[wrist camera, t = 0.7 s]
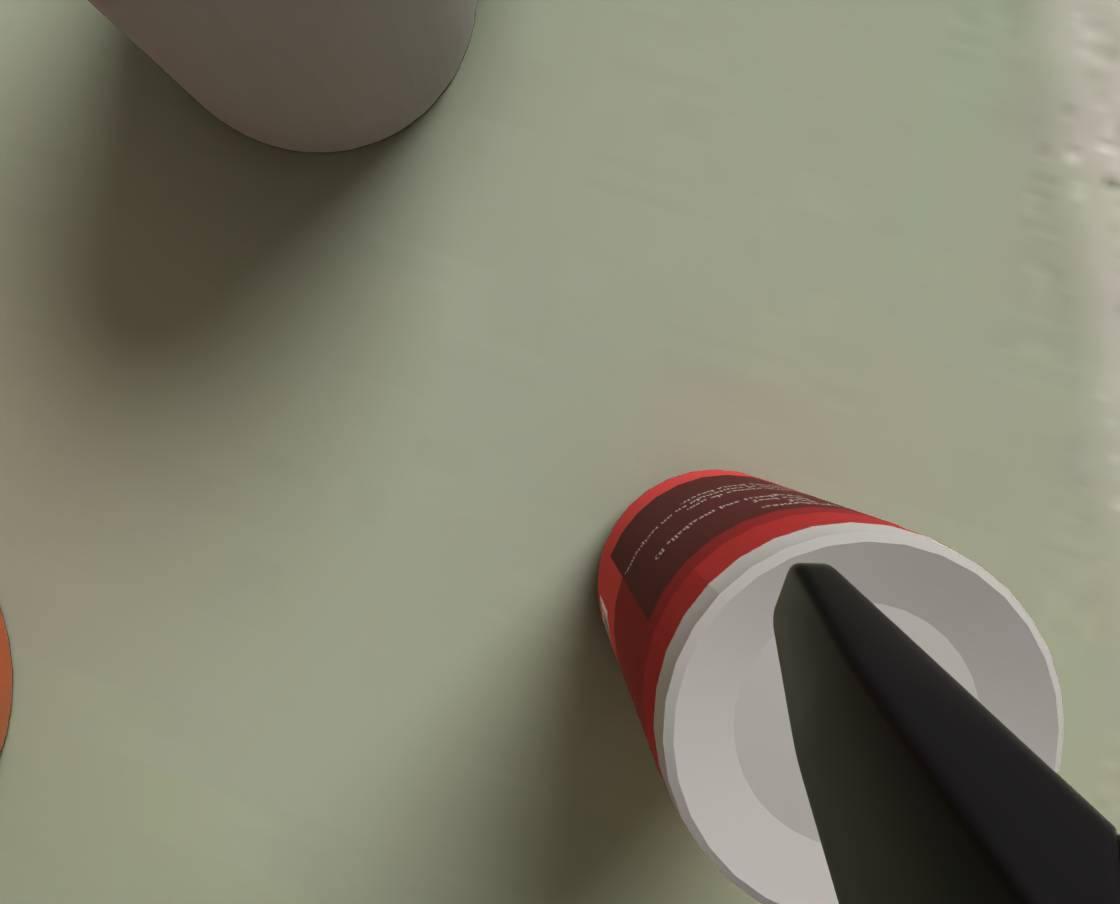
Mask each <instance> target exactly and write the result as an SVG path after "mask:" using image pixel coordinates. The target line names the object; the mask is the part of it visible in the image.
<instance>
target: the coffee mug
mask: <svg viewBox="0 0 1120 904" xmlns="http://www.w3.org/2000/svg"><path fill="white" fill-rule="evenodd" d="M88 1H89V2H90V3H91V4H93V5H94V6H95V7H96V8H97V9H98V10H99V11H100V12H101V13H102V14H103V15H104V16H106V17H107V18H108V19H109V20H110V21H111V22H112V23H113V24H114V25H115V26H116V27H118V28H119V29H120V30H121V31H122V32H123V33H124V34H125V35H126V36H127V37H128V38H129V39H131V40H132V41H133V42H134V43H135V44H136V45H137V46H138V47H139V48H140V49H141V50H142V51H144V52H145V53H146V54H147V55H148V56H149V57H150V58H151V59H152V60H153V61H154V62H155V63H157V64H158V65H159V66H160V67H161V68H162V69H163V70H164V71H165V72H166V73H167V74H169V75H170V76H171V77H172V78H173V79H174V80H175V81H176V82H177V83H178V84H179V85H180V86H182V87H183V88H184V89H185V90H186V91H187V92H188V93H189V94H190V95H191V96H192V97H193V98H195V99H196V100H197V101H198V102H199V103H200V104H201V105H202V106H203V107H204V108H205V109H206V110H208V111H209V112H210V113H211V114H213V115H214V116H215V117H217V118H218V119H219V120H221V121H222V122H224V123H225V124H227V125H228V126H230V127H232V128H234V129H235V130H237V131H239V132H241V133H242V134H244V135H246V136H249V137H251V138H253V139H255V140H258V141H260V142H262V143H265V144H269V145H272V146H275V147H279V148H283V149H288V150H294V151H300V152H339V151H347V150H351V149H355V148H359V147H362V146H365V145H369V144H372V143H375V142H378V141H381V140H383V139H385V138H387V137H389V136H391V135H393V134H395V133H397V132H399V131H401V130H402V129H403V128H405V127H406V126H408V125H409V124H410V123H412V122H413V121H415V120H416V119H417V118H419V117H420V116H421V115H423V114H424V113H425V112H426V111H427V110H428V109H429V108H430V107H431V106H432V105H433V104H434V103H435V101H436V100H437V99H438V98H439V96H440V95H441V94H442V92H443V91H444V90H445V89H446V87H447V86H448V85H449V83H450V82H451V81H452V79H453V77H454V76H455V74H456V72H457V71H458V69H459V66H460V64H461V61H462V59H463V57H464V54H465V52H466V49H467V47H468V44H469V41H470V38H471V34H472V30H473V26H474V21H475V14H476V4H477V0H88Z"/></svg>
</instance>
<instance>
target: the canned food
mask: <svg viewBox="0 0 1120 904" xmlns="http://www.w3.org/2000/svg"><path fill="white" fill-rule="evenodd" d="M796 563H825V564H829V565H830V566H832V567H834V568H835V569H836V570H837V571H838V572H839V573H840V574H842V575H843V576H844V577H845V578H846V579H847V580H848V581H849V582H850V583H851V584H852V585H853V586H855V587H856V588H857V589H858V590H859V591H860V592H861V593H862V594H863V595H864V596H865V597H866V598H868V599H869V600H870V601H871V602H872V603H873V604H874V605H875V606H876V607H877V608H878V609H879V610H881V611H882V612H883V613H884V614H885V615H886V616H887V617H888V618H889V619H890V620H891V621H892V622H894V623H895V624H896V625H897V626H898V627H899V628H900V629H901V630H902V631H903V632H904V633H905V634H906V635H908V636H909V637H910V638H911V639H912V640H913V641H914V642H915V643H916V644H917V645H918V646H919V647H921V648H922V649H923V650H924V651H925V652H926V653H927V654H928V655H929V656H930V657H931V658H932V659H934V660H935V661H936V662H937V663H938V664H939V665H940V666H941V667H942V668H943V669H944V670H945V671H947V672H948V673H949V674H950V675H951V676H952V677H953V678H954V679H955V680H956V681H957V682H958V683H960V684H961V685H962V686H963V687H964V688H965V689H966V690H967V691H968V692H969V693H970V694H971V695H973V696H974V697H975V698H976V699H977V700H978V701H979V702H980V703H981V704H982V705H983V706H984V707H986V708H987V709H988V710H989V711H990V712H991V713H992V714H993V715H994V716H995V717H996V718H997V719H999V720H1000V721H1001V722H1002V723H1003V724H1004V725H1005V726H1006V727H1007V728H1008V729H1009V730H1010V731H1012V732H1013V733H1014V734H1015V735H1016V736H1017V737H1018V738H1019V739H1020V740H1021V741H1022V742H1023V743H1025V744H1026V745H1027V746H1028V747H1029V748H1030V749H1031V750H1032V751H1033V752H1034V753H1035V754H1036V755H1038V756H1039V757H1040V758H1041V759H1042V760H1043V761H1044V762H1045V763H1046V764H1047V765H1048V766H1049V767H1051V768H1052V769H1053V770H1054V771H1055V772H1056V773H1057V774H1058V772H1059V768H1060V762H1061V753H1062V744H1063V735H1064V720H1063V708H1062V697H1061V689H1060V685H1059V682H1058V678H1057V675H1056V672H1055V668H1054V665H1053V661H1052V658H1051V654H1050V652H1049V650H1048V648H1047V646H1046V644H1045V642H1044V641H1043V639H1042V637H1041V635H1040V633H1039V631H1038V629H1037V627H1036V625H1035V623H1034V621H1033V619H1032V618H1031V617H1030V616H1029V614H1028V613H1027V612H1026V611H1025V610H1024V608H1023V607H1022V606H1021V605H1020V603H1019V602H1018V601H1017V600H1016V598H1015V597H1014V596H1013V595H1012V593H1011V592H1010V591H1009V590H1008V589H1007V588H1006V587H1005V586H1004V585H1002V584H1001V583H1000V582H999V581H998V580H996V579H995V578H994V577H993V576H991V575H990V574H989V573H988V572H987V571H985V570H984V569H983V568H982V567H981V566H979V565H978V564H976V563H974V562H973V561H971V560H969V559H967V558H965V557H963V556H962V555H961V554H959V553H957V552H955V551H953V550H951V549H950V548H948V547H946V546H944V545H942V544H940V543H938V542H936V541H934V540H933V539H931V538H929V537H927V536H924V535H921V534H918V533H915V532H913V531H910V530H907V529H904V528H902V527H900V526H898V525H896V524H893V523H890V522H887V521H884V520H881V519H878V518H875V517H872V516H869V515H866V514H863V513H860V512H857V511H854V510H851V509H848V508H845V507H843V506H840V505H837V504H834V503H831V502H828V501H825V500H822V499H819V498H816V497H813V496H810V495H807V494H804V493H801V492H798V491H795V490H792V489H789V488H786V487H783V486H780V485H778V484H775V483H772V482H769V481H766V480H763V479H760V478H756V477H753V476H750V475H746V474H743V473H740V472H734V471H723V470H706V471H697V472H689V473H686V474H683V475H680V476H677V477H674V478H670V479H668V480H666V481H664V482H662V483H660V484H658V485H657V486H655V487H653V488H651V489H649V490H648V491H646V492H645V493H644V494H643V495H642V496H641V497H639V498H638V499H637V500H636V501H635V502H634V503H632V504H631V505H630V506H629V507H628V509H627V510H626V511H625V512H624V514H623V515H622V516H621V518H620V519H619V520H618V521H617V523H616V524H615V526H614V528H613V530H612V532H611V534H610V536H609V538H608V540H607V542H606V544H605V546H604V550H603V554H602V558H601V562H600V565H599V573H598V591H597V592H598V599H599V606H600V613H601V617H602V619H603V622H604V625H605V628H606V631H607V634H608V636H609V639H610V642H611V644H612V647H613V650H614V652H615V655H616V658H617V660H618V663H619V666H620V669H621V671H622V674H623V677H624V679H625V682H626V685H627V687H628V690H629V693H630V695H631V698H632V701H633V703H634V706H635V709H636V711H637V714H638V717H639V719H640V722H641V725H642V728H643V730H644V733H645V736H646V738H647V741H648V744H649V746H650V749H651V752H652V754H653V757H654V760H655V762H656V765H657V768H658V770H659V773H660V775H661V777H662V778H663V781H664V783H665V786H666V788H667V791H668V793H669V796H670V799H671V801H672V803H673V805H674V806H675V808H676V810H677V811H678V813H679V815H680V816H681V818H682V820H683V821H684V823H685V825H686V826H687V828H688V830H689V831H690V833H691V834H692V836H693V838H694V839H695V841H696V843H697V844H698V846H699V848H700V849H701V851H702V852H703V853H704V854H705V855H706V856H707V857H708V858H709V859H710V860H711V862H712V863H713V864H714V865H715V866H716V867H717V868H718V869H719V870H720V871H721V872H722V874H723V875H724V876H725V877H726V878H727V879H728V880H730V881H731V882H732V883H734V884H735V885H736V886H738V887H739V888H741V889H742V890H743V891H745V892H746V893H747V894H749V895H750V896H751V897H753V898H754V899H756V900H757V901H758V902H760V903H763V904H839V903H838V899H837V896H836V892H835V889H834V886H833V882H832V879H831V875H830V872H829V868H828V865H827V862H826V858H825V855H824V851H823V848H822V844H821V841H820V838H819V834H818V831H817V827H816V824H815V820H814V817H813V813H812V810H811V807H810V803H809V800H808V796H807V793H806V789H805V786H804V783H803V779H802V776H801V772H800V768H799V764H798V760H797V757H796V752H795V747H794V742H793V737H792V732H791V726H790V721H789V715H788V709H787V703H786V698H785V692H784V686H783V680H782V675H781V669H780V663H779V657H778V652H777V646H776V640H775V634H774V628H773V614H774V609H775V606H776V603H777V600H778V597H779V595H780V592H781V589H782V586H783V584H784V581H785V578H786V575H787V573H788V571H789V569H790V567H791V566H792V565H794V564H796Z"/></svg>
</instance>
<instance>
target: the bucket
mask: <svg viewBox="0 0 1120 904" xmlns="http://www.w3.org/2000/svg"><path fill="white" fill-rule="evenodd" d="M12 675H13V670H12V662H11V654H10V646H9V639H8V635H7V631H6V627H5V624H4V620H3V616H2V612H1V609H0V753H1V750H2V747H3V743H4V740H5V737H6V734H7V729H8V723H9V717H10V711H11V705H12Z"/></svg>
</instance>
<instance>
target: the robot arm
mask: <svg viewBox="0 0 1120 904" xmlns="http://www.w3.org/2000/svg"><path fill="white" fill-rule="evenodd" d="M773 628H774V634H775V640H776V646H777V652H778V657H779V663H780V669H781V675H782V680H783V686H784V692H785V698H786V703H787V709H788V715H789V721H790V726H791V732H792V737H793V742H794V747H795V752H796V757H797V760H798V764H799V768H800V772H801V776H802V779H803V783H804V786H805V789H806V793H807V796H808V800H809V803H810V807H811V810H812V813H813V817H814V820H815V824H816V827H817V831H818V834H819V838H820V841H821V844H822V848H823V851H824V855H825V858H826V862H827V865H828V868H829V872H830V875H831V879H832V882H833V886H834V889H835V892H836V896H837V899H838V903H839V904H1120V834H1118V835H1117V832H1116V829H1115V827H1114V826H1113V825H1112V824H1111V823H1110V822H1109V821H1108V820H1107V819H1106V818H1105V817H1104V816H1102V815H1101V814H1100V813H1099V812H1098V811H1097V810H1096V809H1095V808H1094V807H1093V806H1092V805H1091V804H1089V803H1088V802H1087V801H1086V800H1085V799H1084V798H1083V797H1082V796H1081V795H1080V794H1079V793H1078V792H1076V791H1075V790H1074V789H1073V788H1072V787H1071V786H1070V785H1069V784H1068V783H1067V782H1066V781H1065V780H1064V779H1062V778H1061V777H1060V776H1059V775H1058V774H1057V773H1056V772H1055V771H1054V770H1053V769H1052V768H1051V767H1049V766H1048V765H1047V764H1046V763H1045V762H1044V761H1043V760H1042V759H1041V758H1040V757H1039V756H1038V755H1036V754H1035V753H1034V752H1033V751H1032V750H1031V749H1030V748H1029V747H1028V746H1027V745H1026V744H1025V743H1023V742H1022V741H1021V740H1020V739H1019V738H1018V737H1017V736H1016V735H1015V734H1014V733H1013V732H1012V731H1010V730H1009V729H1008V728H1007V727H1006V726H1005V725H1004V724H1003V723H1002V722H1001V721H1000V720H999V719H997V718H996V717H995V716H994V715H993V714H992V713H991V712H990V711H989V710H988V709H987V708H986V707H984V706H983V705H982V704H981V703H980V702H979V701H978V700H977V699H976V698H975V697H974V696H973V695H971V694H970V693H969V692H968V691H967V690H966V689H965V688H964V687H963V686H962V685H961V684H960V683H958V682H957V681H956V680H955V679H954V678H953V677H952V676H951V675H950V674H949V673H948V672H947V671H945V670H944V669H943V668H942V667H941V666H940V665H939V664H938V663H937V662H936V661H935V660H934V659H932V658H931V657H930V656H929V655H928V654H927V653H926V652H925V651H924V650H923V649H922V648H921V647H919V646H918V645H917V644H916V643H915V642H914V641H913V640H912V639H911V638H910V637H909V636H908V635H906V634H905V633H904V632H903V631H902V630H901V629H900V628H899V627H898V626H897V625H896V624H895V623H894V622H892V621H891V620H890V619H889V618H888V617H887V616H886V615H885V614H884V613H883V612H882V611H881V610H879V609H878V608H877V607H876V606H875V605H874V604H873V603H872V602H871V601H870V600H869V599H868V598H866V597H865V596H864V595H863V594H862V593H861V592H860V591H859V590H858V589H857V588H856V587H855V586H853V585H852V584H851V583H850V582H849V581H848V580H847V579H846V578H845V577H844V576H843V575H842V574H840V573H839V572H838V571H837V570H836V569H835V568H834V567H832V566H830V565H829V564H825V563H796V564H794V565H792V566H791V567H790V569H789V571H788V573H787V575H786V578H785V581H784V584H783V586H782V589H781V592H780V595H779V597H778V600H777V603H776V606H775V609H774V614H773Z"/></svg>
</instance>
